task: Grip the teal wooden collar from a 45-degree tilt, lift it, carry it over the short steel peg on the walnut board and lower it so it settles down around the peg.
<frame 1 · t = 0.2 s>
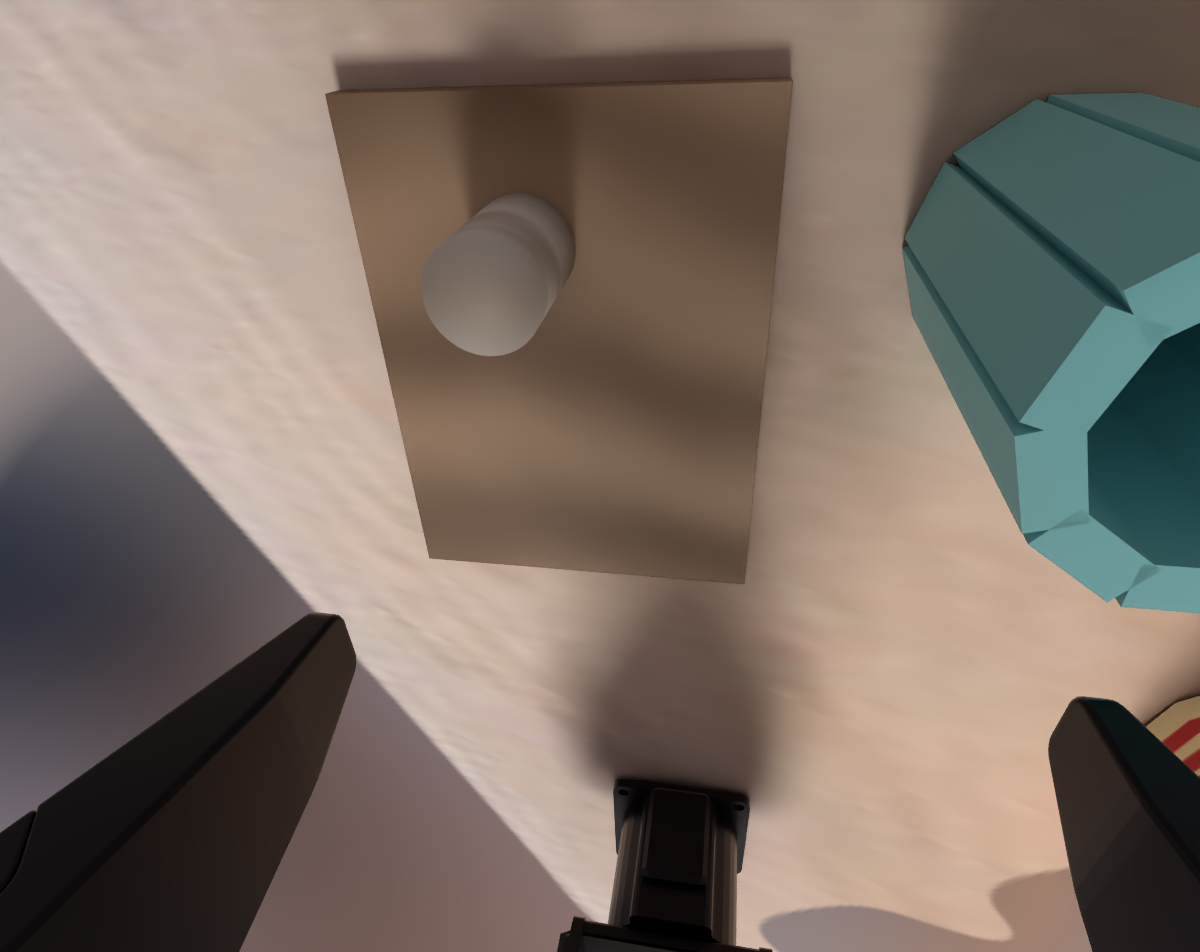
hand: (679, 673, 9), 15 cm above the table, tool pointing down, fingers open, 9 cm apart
teal collar: (1049, 244, 19), on the table
peg board: (530, 240, 21), on the table
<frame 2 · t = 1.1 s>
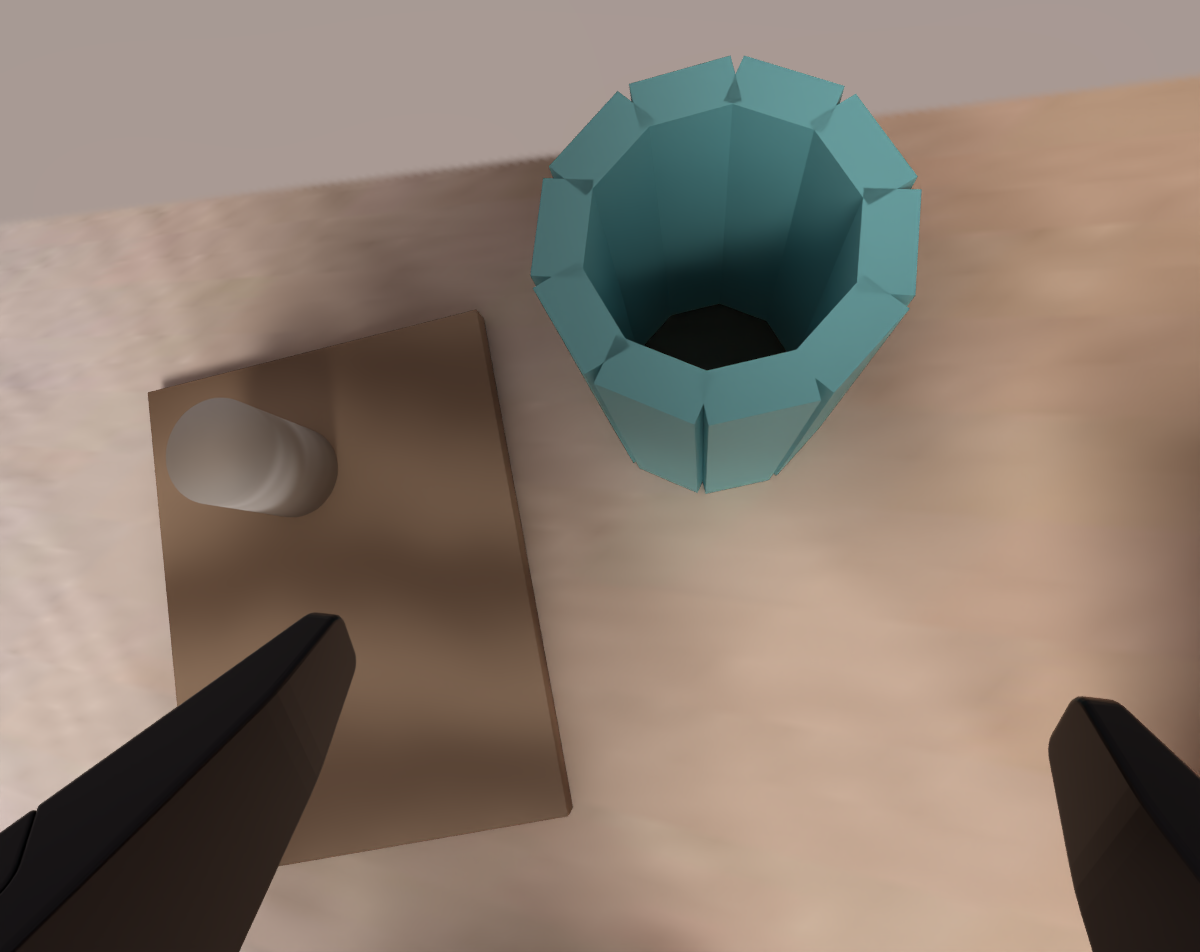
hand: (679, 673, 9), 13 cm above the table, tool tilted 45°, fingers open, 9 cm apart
teal collar: (712, 381, 23), on the table
peg board: (308, 475, 25), on the table
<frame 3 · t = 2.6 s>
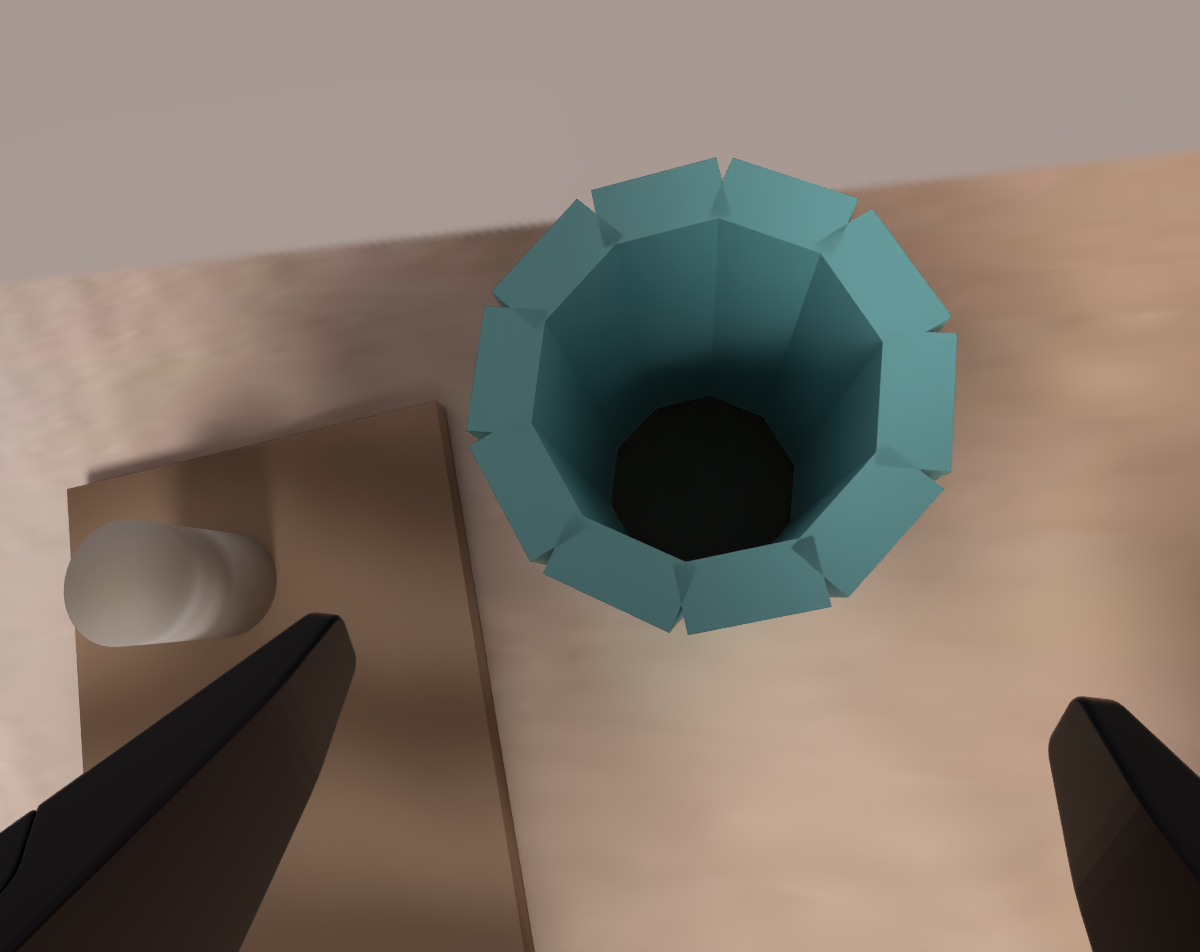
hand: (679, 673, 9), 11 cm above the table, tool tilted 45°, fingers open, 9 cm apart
teal collar: (701, 485, 20), on the table
peg board: (245, 585, 22), on the table
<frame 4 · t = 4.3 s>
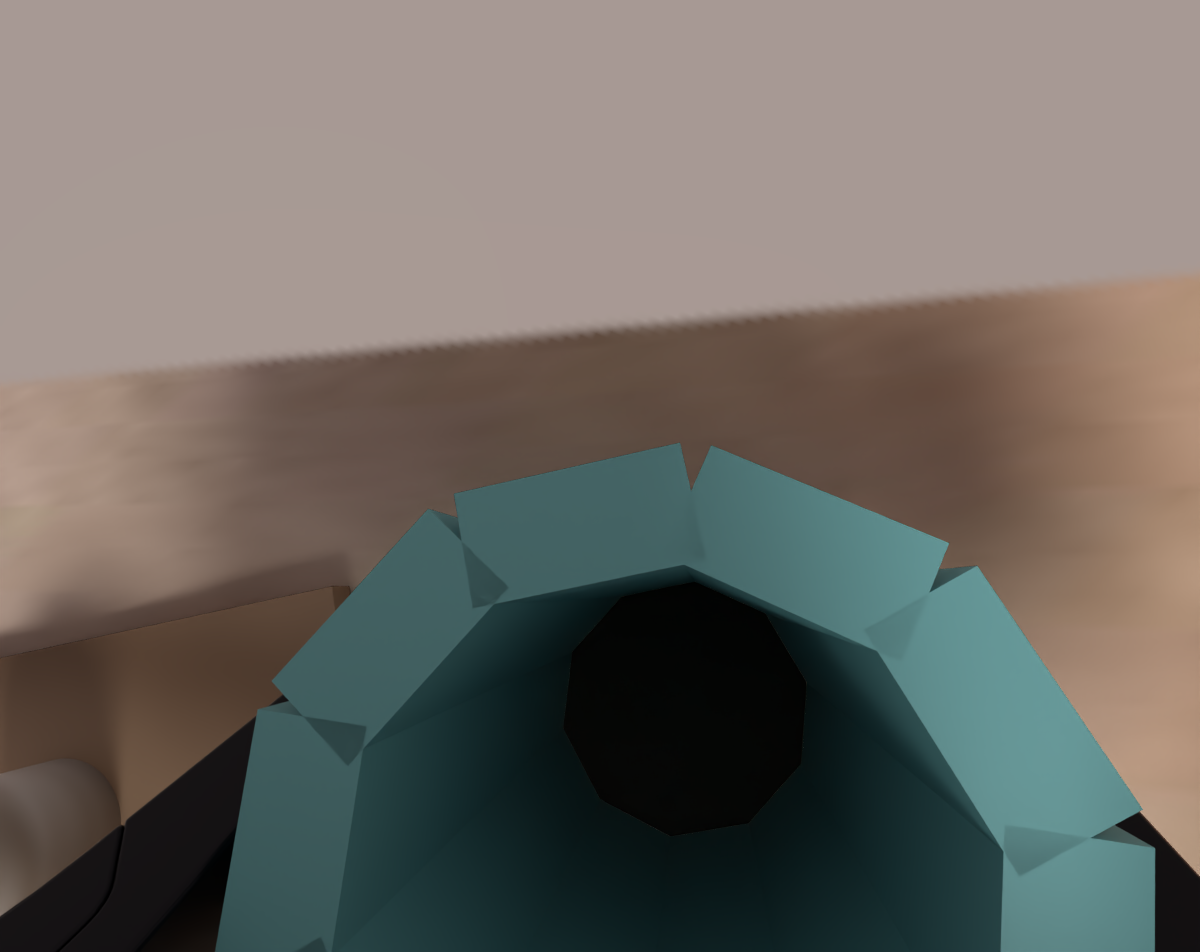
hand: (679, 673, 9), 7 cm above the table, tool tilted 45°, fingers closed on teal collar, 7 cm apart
teal collar: (682, 705, 15), on the table, touching gripper
peg board: (89, 818, 17), on the table
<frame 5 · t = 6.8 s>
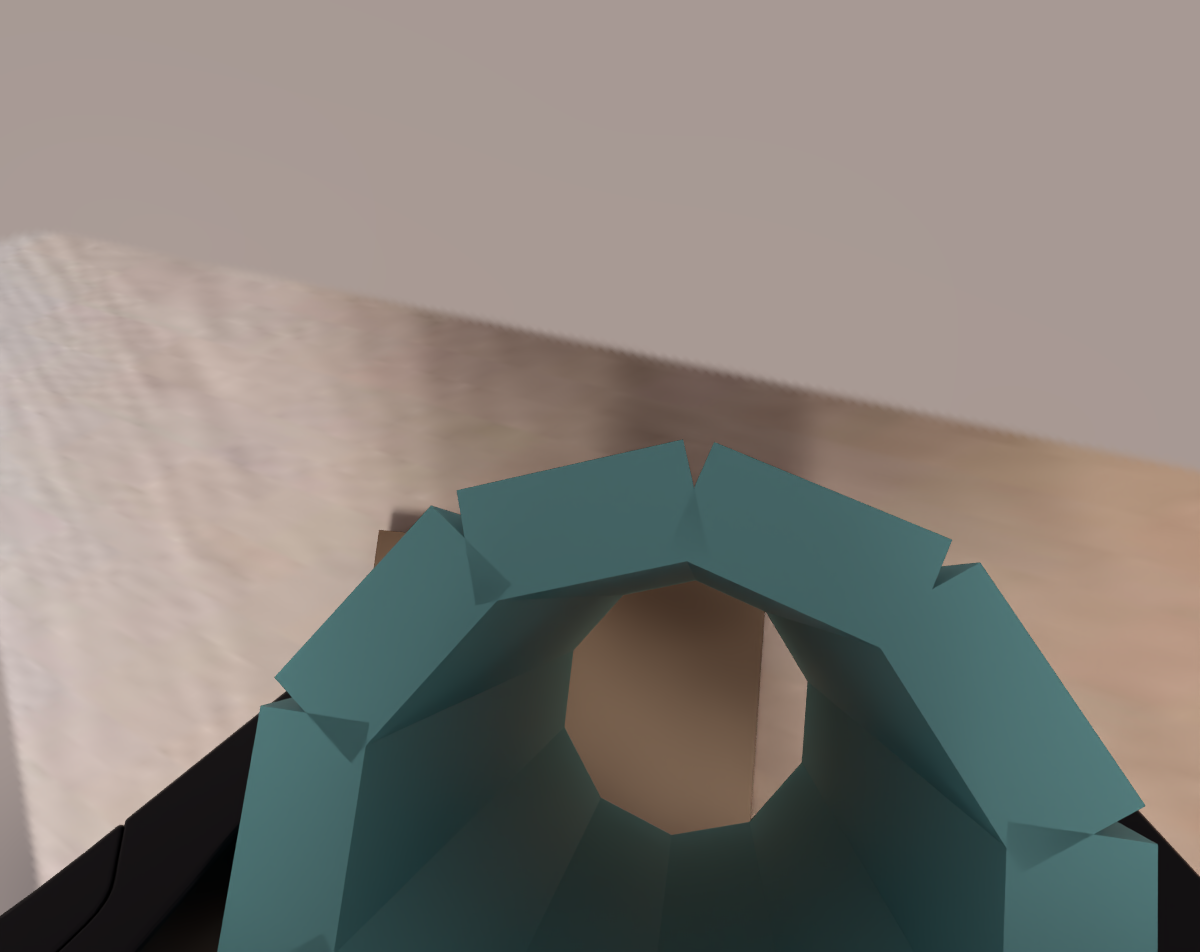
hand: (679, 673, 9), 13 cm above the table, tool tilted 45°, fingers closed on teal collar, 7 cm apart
teal collar: (683, 704, 15), point 6 cm above the table, touching gripper
peg board: (524, 676, 22), on the table
when the fingers open (8 cm above the table, at t = 9.5 s): teal collar stays where it is, resting on peg board.
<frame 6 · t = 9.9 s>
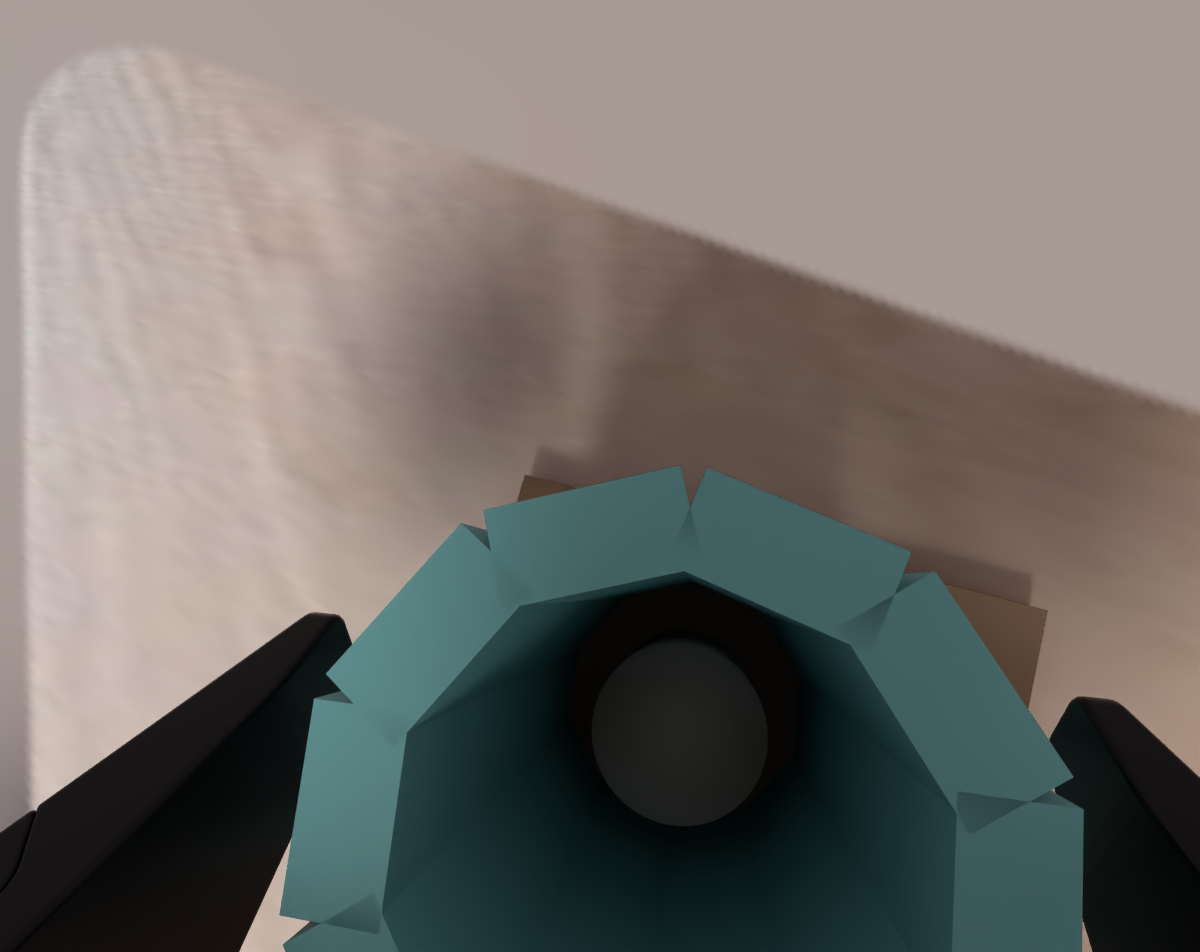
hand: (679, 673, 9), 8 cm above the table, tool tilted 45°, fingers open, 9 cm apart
teal collar: (683, 699, 16), point 1 cm above the table, touching peg board
peg board: (684, 693, 17), on the table
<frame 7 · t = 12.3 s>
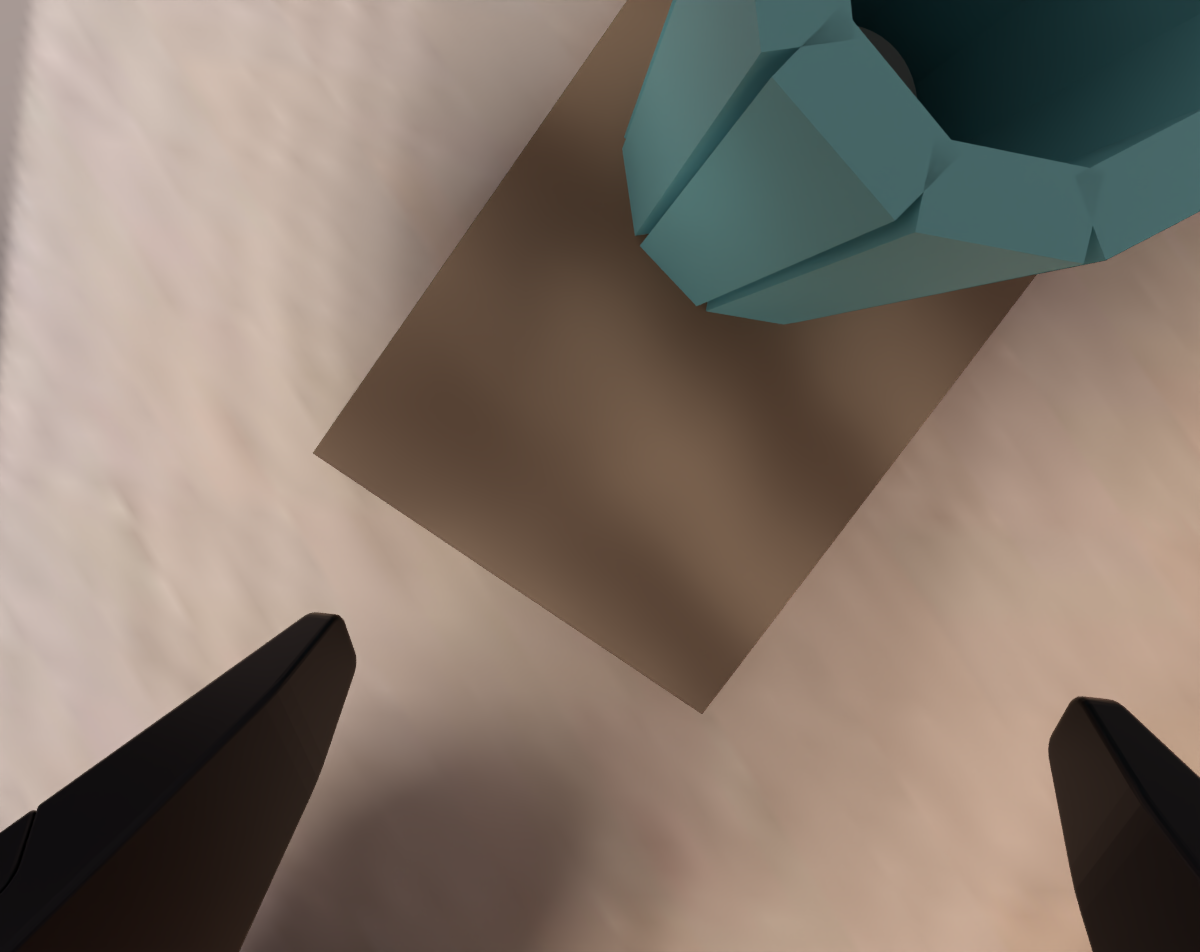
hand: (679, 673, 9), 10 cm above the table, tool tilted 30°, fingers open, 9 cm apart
teal collar: (771, 171, 17), point 1 cm above the table, touching peg board
peg board: (761, 179, 18), on the table
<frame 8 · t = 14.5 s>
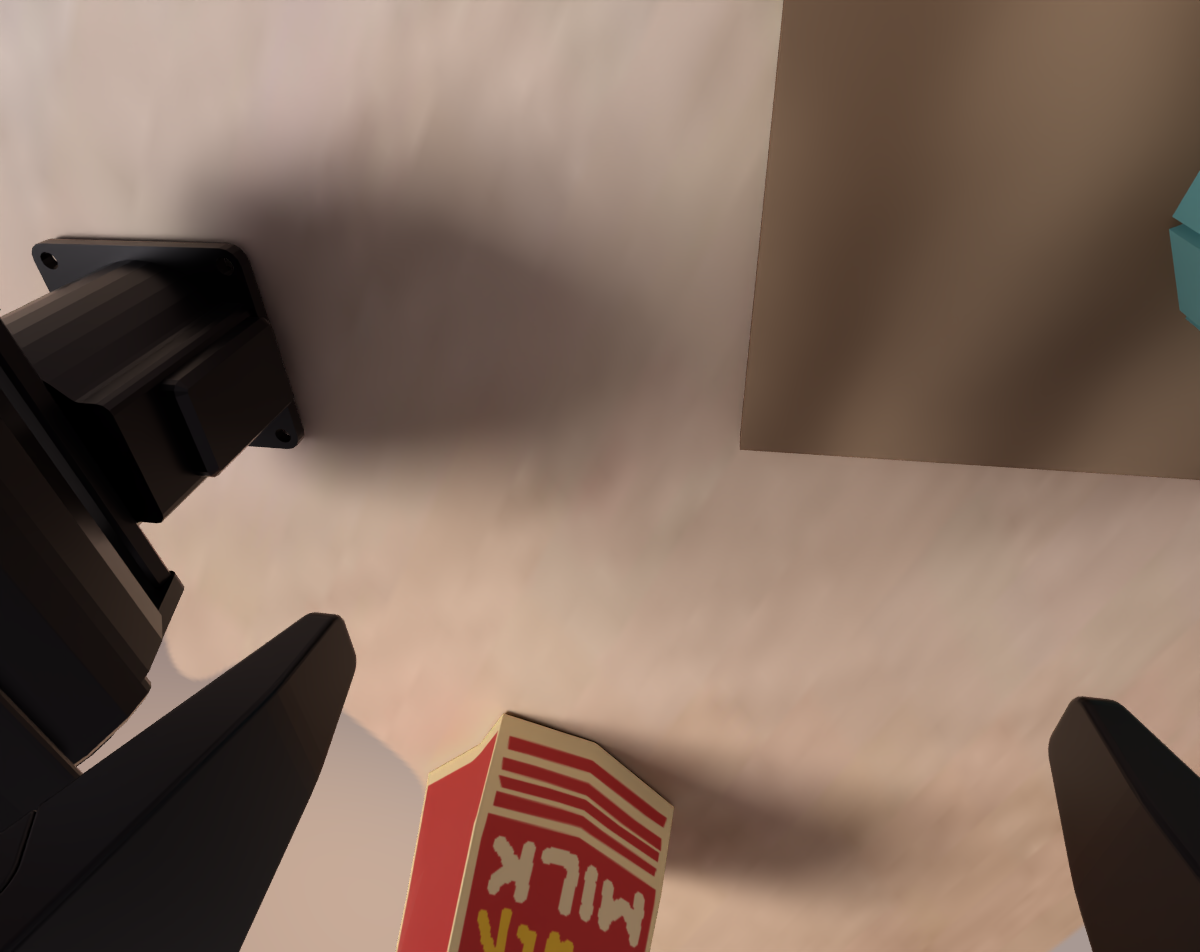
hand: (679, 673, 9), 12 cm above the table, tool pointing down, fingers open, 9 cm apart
milk carton: (552, 780, 34), on the table
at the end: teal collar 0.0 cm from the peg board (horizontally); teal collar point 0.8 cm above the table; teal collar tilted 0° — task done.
